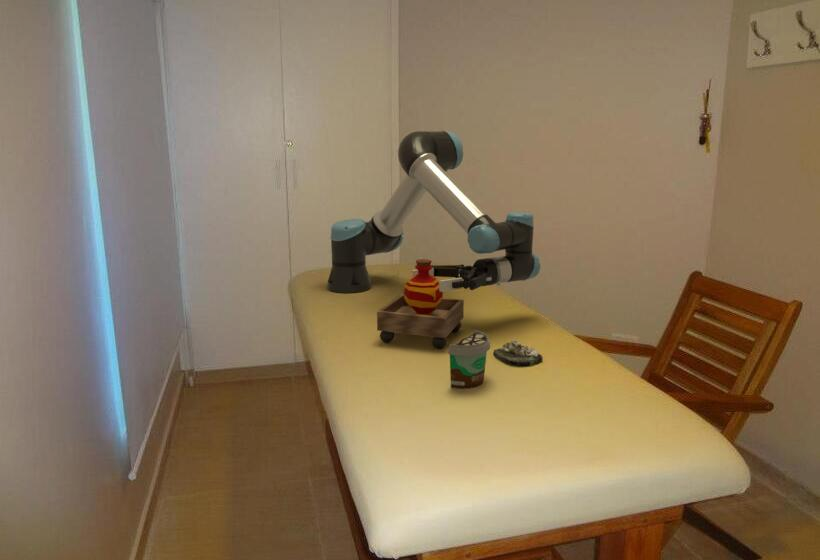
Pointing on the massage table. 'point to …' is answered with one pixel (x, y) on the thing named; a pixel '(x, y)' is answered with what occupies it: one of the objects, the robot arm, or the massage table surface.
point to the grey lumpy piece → (517, 355)
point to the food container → (469, 361)
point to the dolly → (420, 320)
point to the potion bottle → (423, 290)
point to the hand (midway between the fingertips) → (425, 280)
